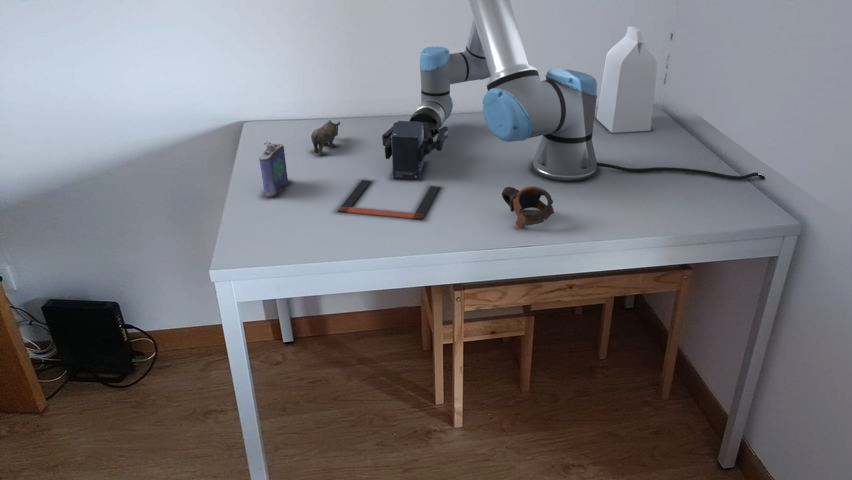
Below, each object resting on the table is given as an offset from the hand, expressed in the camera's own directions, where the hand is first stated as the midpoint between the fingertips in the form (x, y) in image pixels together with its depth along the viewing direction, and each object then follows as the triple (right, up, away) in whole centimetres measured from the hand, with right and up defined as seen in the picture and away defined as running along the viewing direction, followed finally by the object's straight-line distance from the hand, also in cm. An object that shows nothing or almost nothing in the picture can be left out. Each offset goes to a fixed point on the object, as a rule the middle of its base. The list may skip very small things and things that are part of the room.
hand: (403, 154), depth 156 cm
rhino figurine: (-22, +6, +19) cm, 29 cm away
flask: (-28, -8, -3) cm, 29 cm away
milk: (+57, +16, +40) cm, 71 cm away
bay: (-2, -11, -6) cm, 13 cm away
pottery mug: (+27, -16, -12) cm, 34 cm away
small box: (+1, -3, +7) cm, 8 cm away
